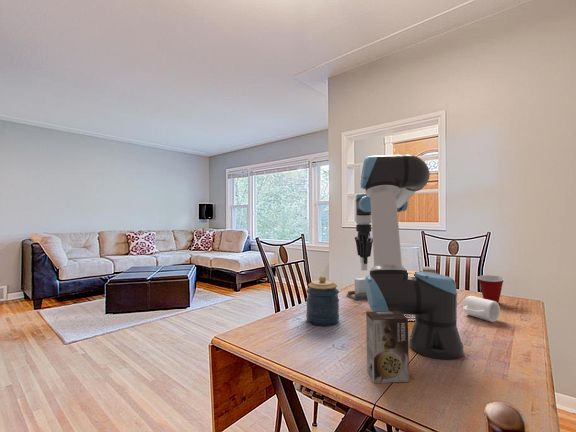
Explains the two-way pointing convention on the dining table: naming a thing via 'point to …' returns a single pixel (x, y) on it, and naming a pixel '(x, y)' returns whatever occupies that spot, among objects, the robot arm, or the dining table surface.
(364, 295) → the grey rectangular tray
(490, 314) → the mug
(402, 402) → the dining table surface
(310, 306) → the canister
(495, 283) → the plastic cup
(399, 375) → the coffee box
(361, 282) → the white rectangular block
